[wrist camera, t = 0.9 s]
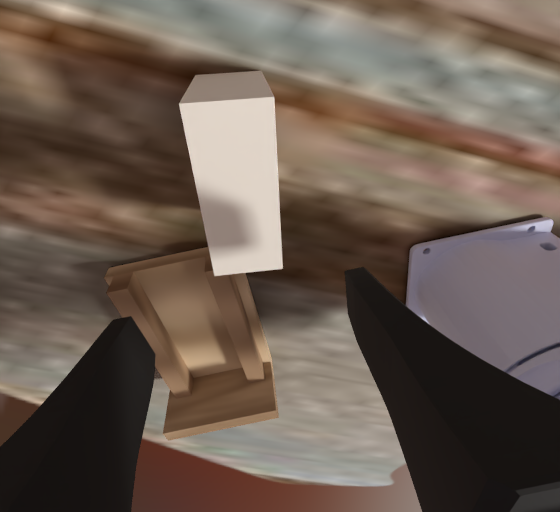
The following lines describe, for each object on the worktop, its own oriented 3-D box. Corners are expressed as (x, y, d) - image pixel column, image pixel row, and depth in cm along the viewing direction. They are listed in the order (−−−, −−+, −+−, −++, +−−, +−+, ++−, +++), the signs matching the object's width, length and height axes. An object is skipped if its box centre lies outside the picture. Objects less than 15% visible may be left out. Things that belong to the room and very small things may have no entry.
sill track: (108, 267, 21) (79, 329, 17) (235, 241, 21) (236, 296, 17) (177, 378, 28) (168, 440, 24) (271, 358, 28) (278, 417, 24)
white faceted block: (260, 70, 16) (274, 96, 11) (270, 205, 20) (282, 268, 15) (190, 75, 15) (170, 104, 11) (214, 211, 19) (208, 276, 15)
